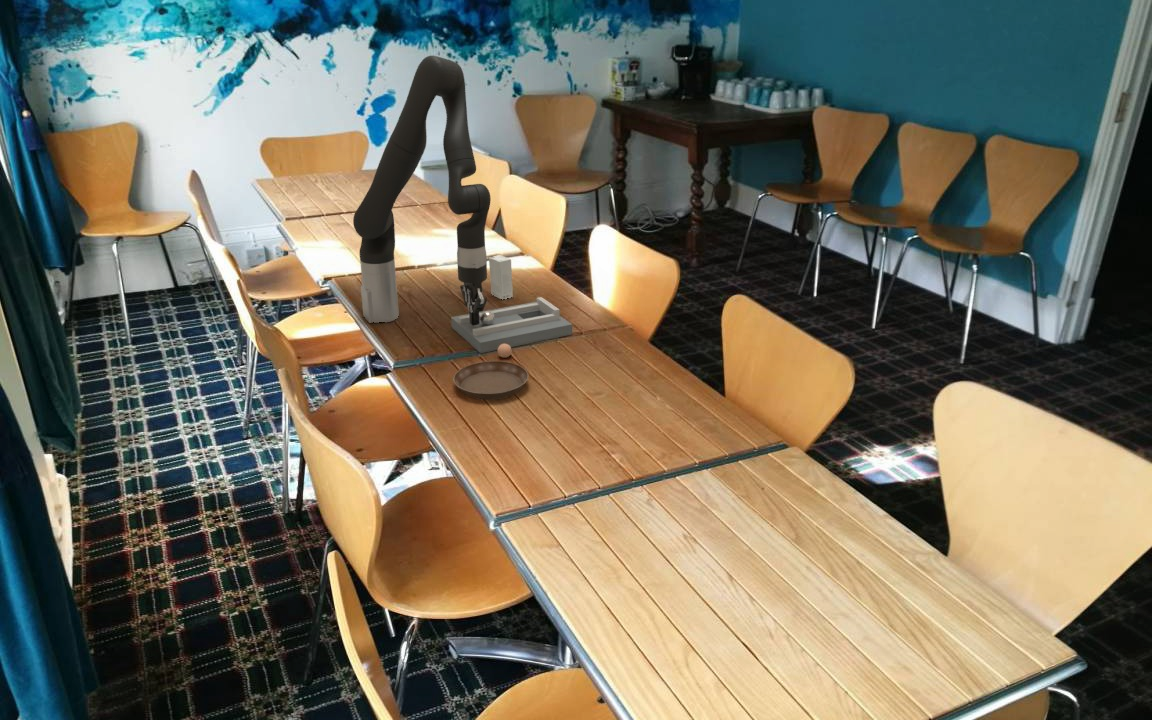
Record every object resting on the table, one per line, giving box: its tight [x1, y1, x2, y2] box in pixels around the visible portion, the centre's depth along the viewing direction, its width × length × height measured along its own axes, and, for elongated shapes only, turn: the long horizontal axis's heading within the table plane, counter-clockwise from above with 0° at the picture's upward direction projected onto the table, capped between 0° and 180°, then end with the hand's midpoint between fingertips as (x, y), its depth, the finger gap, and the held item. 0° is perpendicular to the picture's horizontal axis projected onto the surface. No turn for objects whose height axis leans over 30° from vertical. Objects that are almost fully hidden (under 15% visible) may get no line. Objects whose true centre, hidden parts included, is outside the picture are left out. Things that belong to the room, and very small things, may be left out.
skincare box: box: [488, 254, 514, 301], centre depth 263 cm, size 6×4×12 cm
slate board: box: [450, 296, 573, 354], centre depth 240 cm, size 27×20×6 cm
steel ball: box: [480, 310, 495, 326], centre depth 236 cm, size 4×4×4 cm
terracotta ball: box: [496, 344, 513, 359], centre depth 224 cm, size 4×4×4 cm
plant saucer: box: [452, 360, 529, 401], centre depth 209 cm, size 18×18×3 cm
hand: (474, 324), depth 234 cm, fingers closed
